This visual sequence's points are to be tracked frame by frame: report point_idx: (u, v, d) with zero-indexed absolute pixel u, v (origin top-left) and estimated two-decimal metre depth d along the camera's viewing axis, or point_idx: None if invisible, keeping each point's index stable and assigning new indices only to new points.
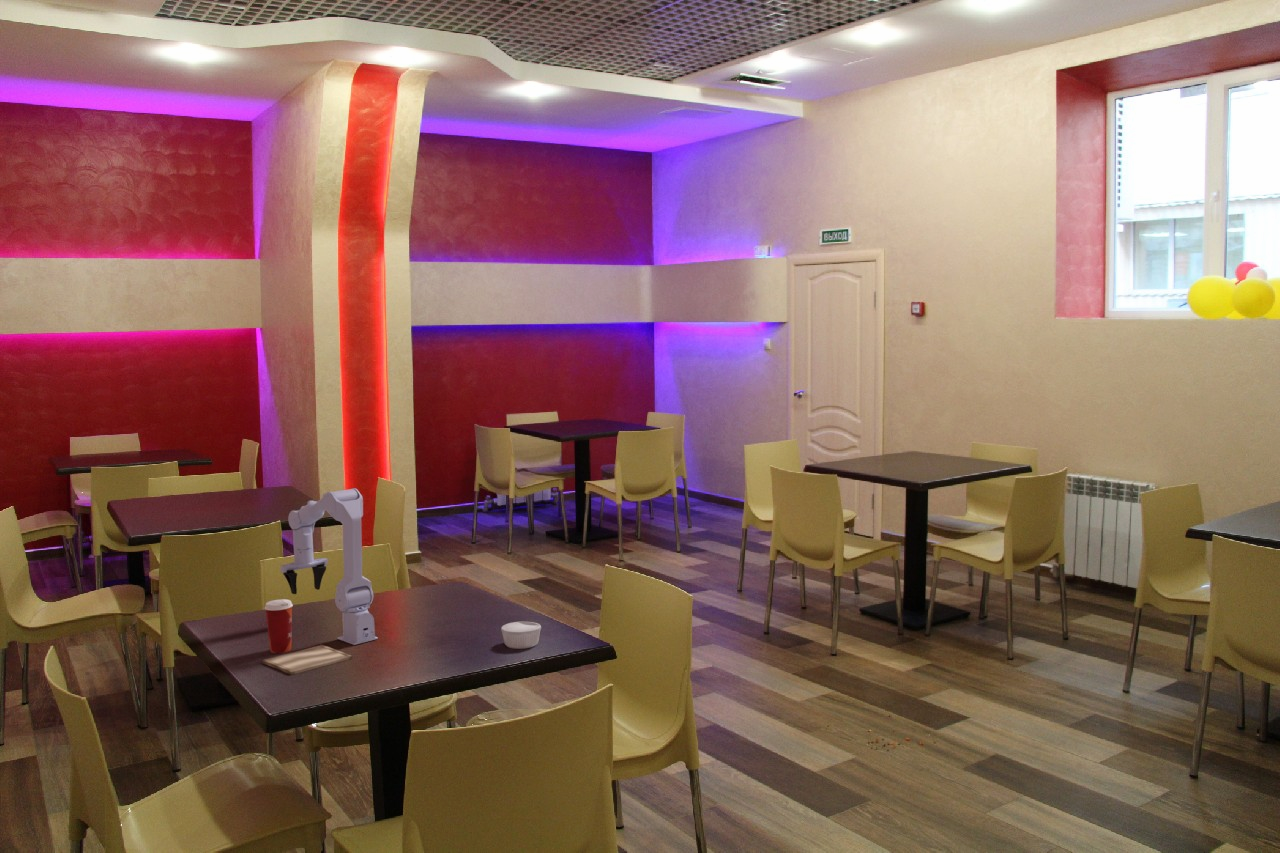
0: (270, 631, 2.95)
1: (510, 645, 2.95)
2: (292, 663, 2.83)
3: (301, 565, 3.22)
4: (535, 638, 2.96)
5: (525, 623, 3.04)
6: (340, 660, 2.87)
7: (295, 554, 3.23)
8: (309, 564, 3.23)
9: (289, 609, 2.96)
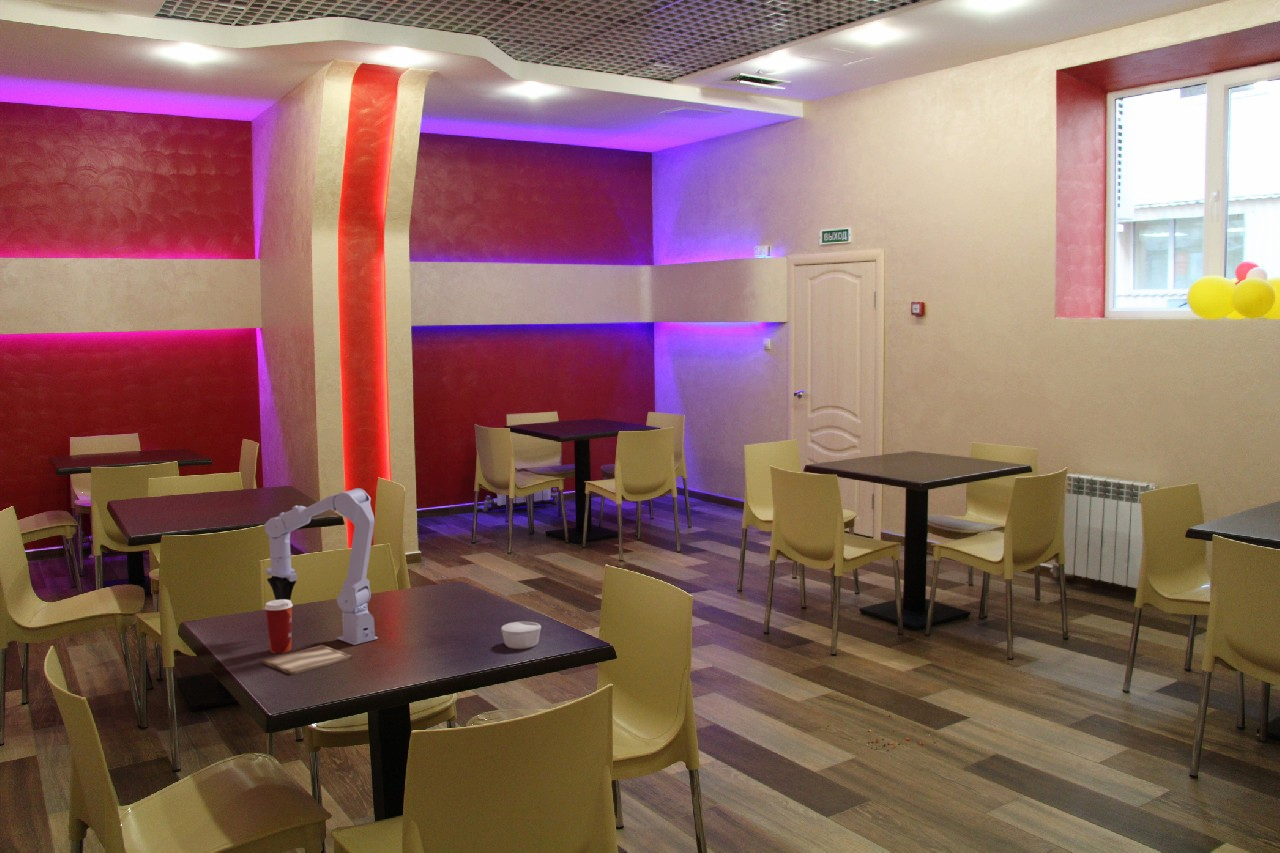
0: (270, 631, 2.95)
1: (510, 645, 2.95)
2: (292, 663, 2.83)
3: (270, 572, 3.11)
4: (535, 638, 2.96)
5: (525, 623, 3.04)
6: (340, 660, 2.87)
7: None
8: (272, 574, 3.09)
9: (289, 609, 2.96)
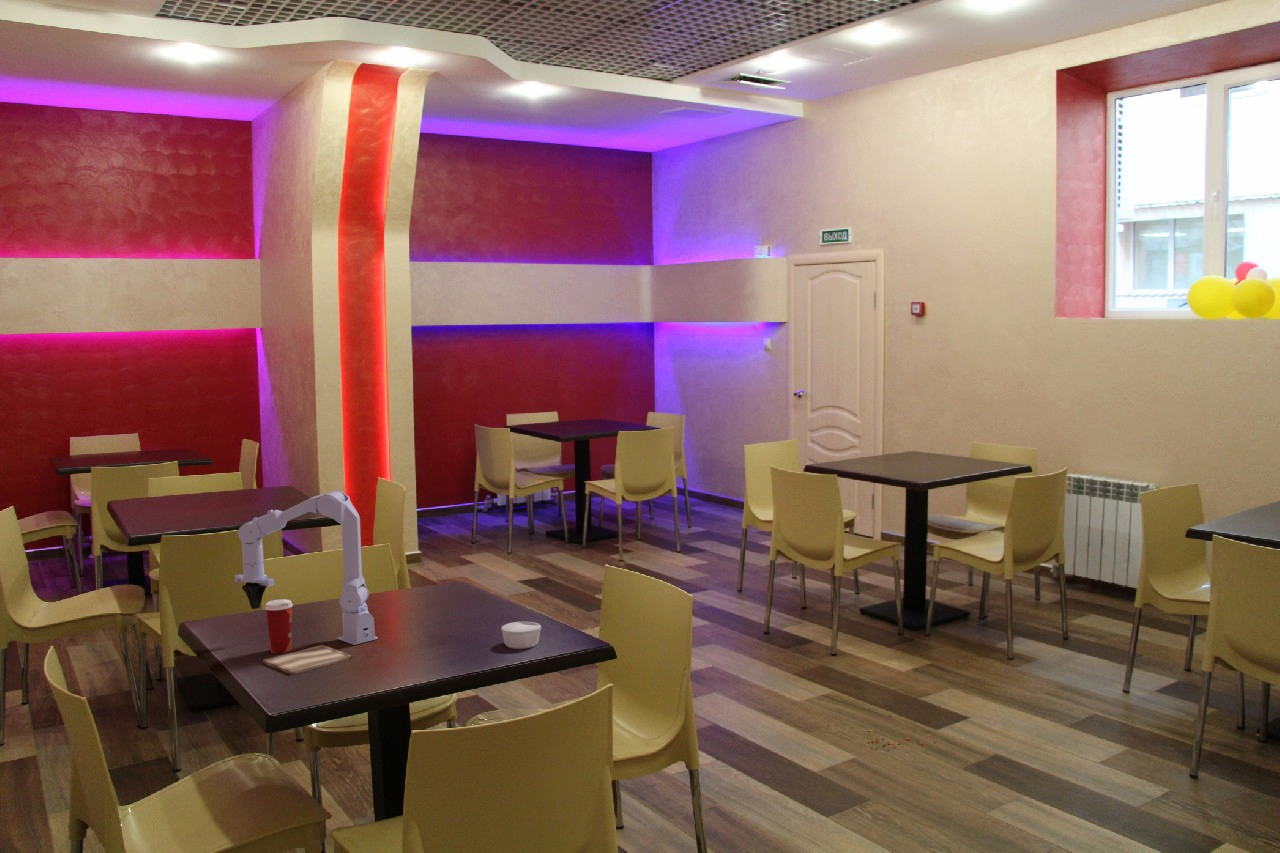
0: (270, 631, 2.95)
1: (510, 645, 2.95)
2: (292, 663, 2.83)
3: (242, 579, 3.05)
4: (535, 638, 2.96)
5: (525, 623, 3.04)
6: (340, 660, 2.87)
7: None
8: (246, 580, 3.04)
9: (289, 609, 2.96)
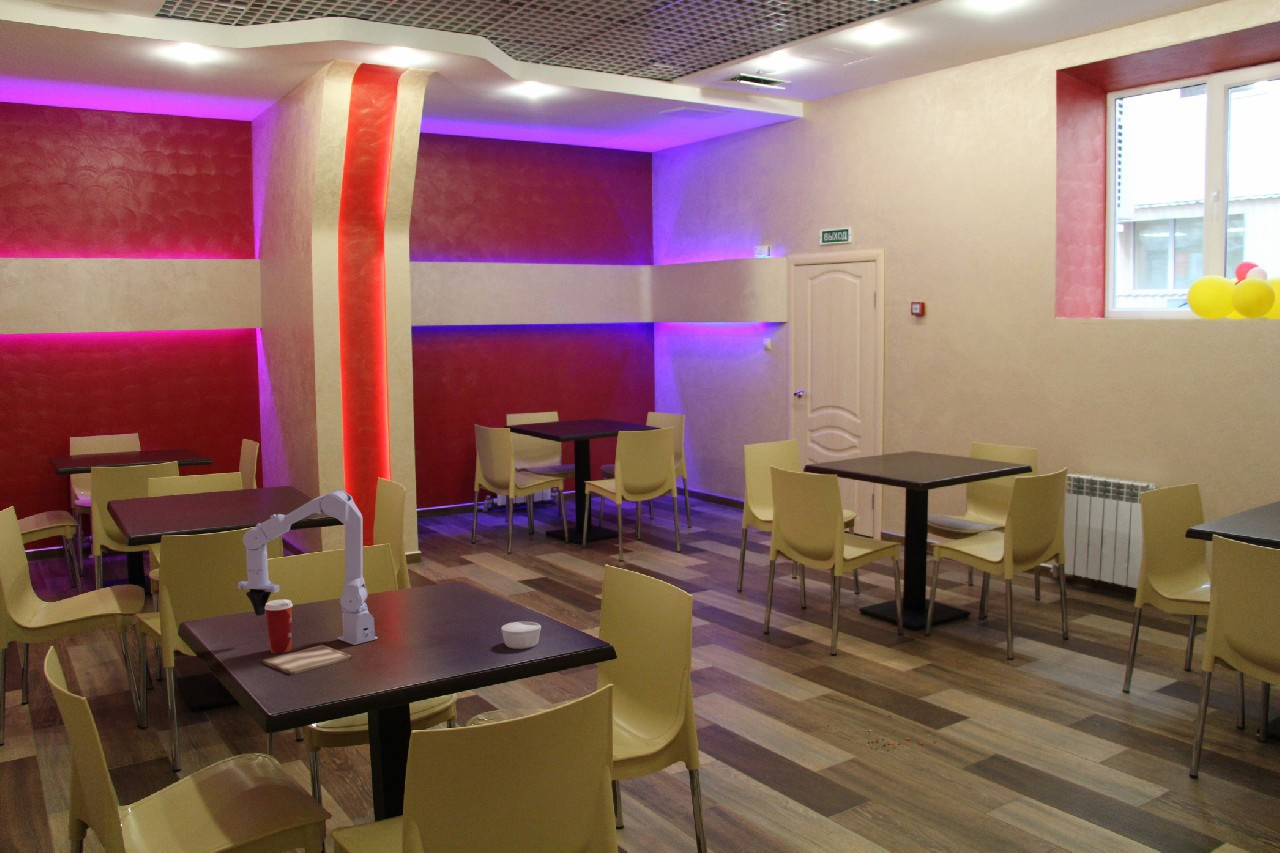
0: (270, 631, 2.95)
1: (510, 645, 2.95)
2: (292, 663, 2.83)
3: (246, 586, 3.04)
4: (535, 638, 2.96)
5: (525, 623, 3.04)
6: (340, 660, 2.87)
7: None
8: (251, 587, 3.02)
9: (289, 609, 2.96)
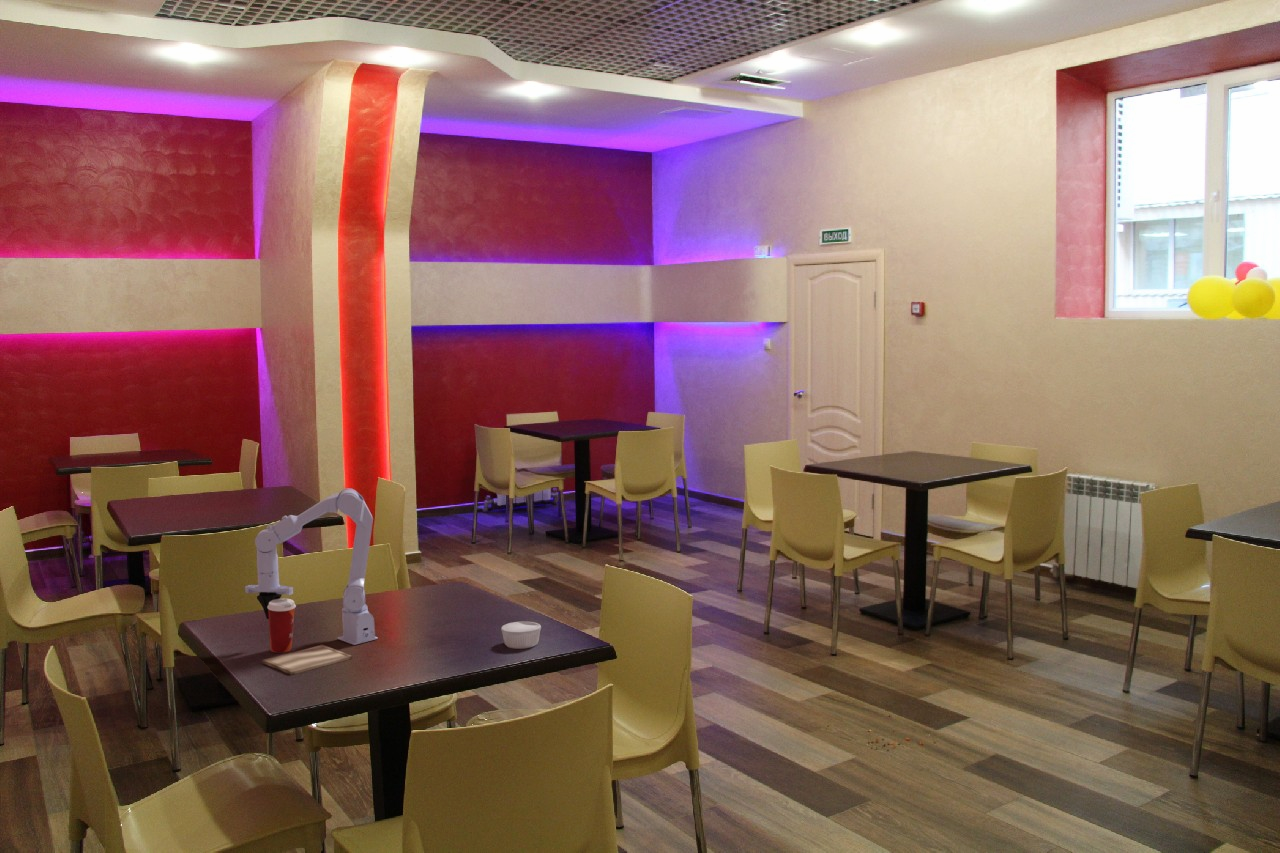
0: (271, 631, 2.95)
1: (510, 645, 2.95)
2: (292, 663, 2.83)
3: (257, 589, 2.99)
4: (535, 638, 2.96)
5: (525, 623, 3.04)
6: (340, 660, 2.87)
7: None
8: (263, 590, 2.98)
9: (292, 610, 2.96)
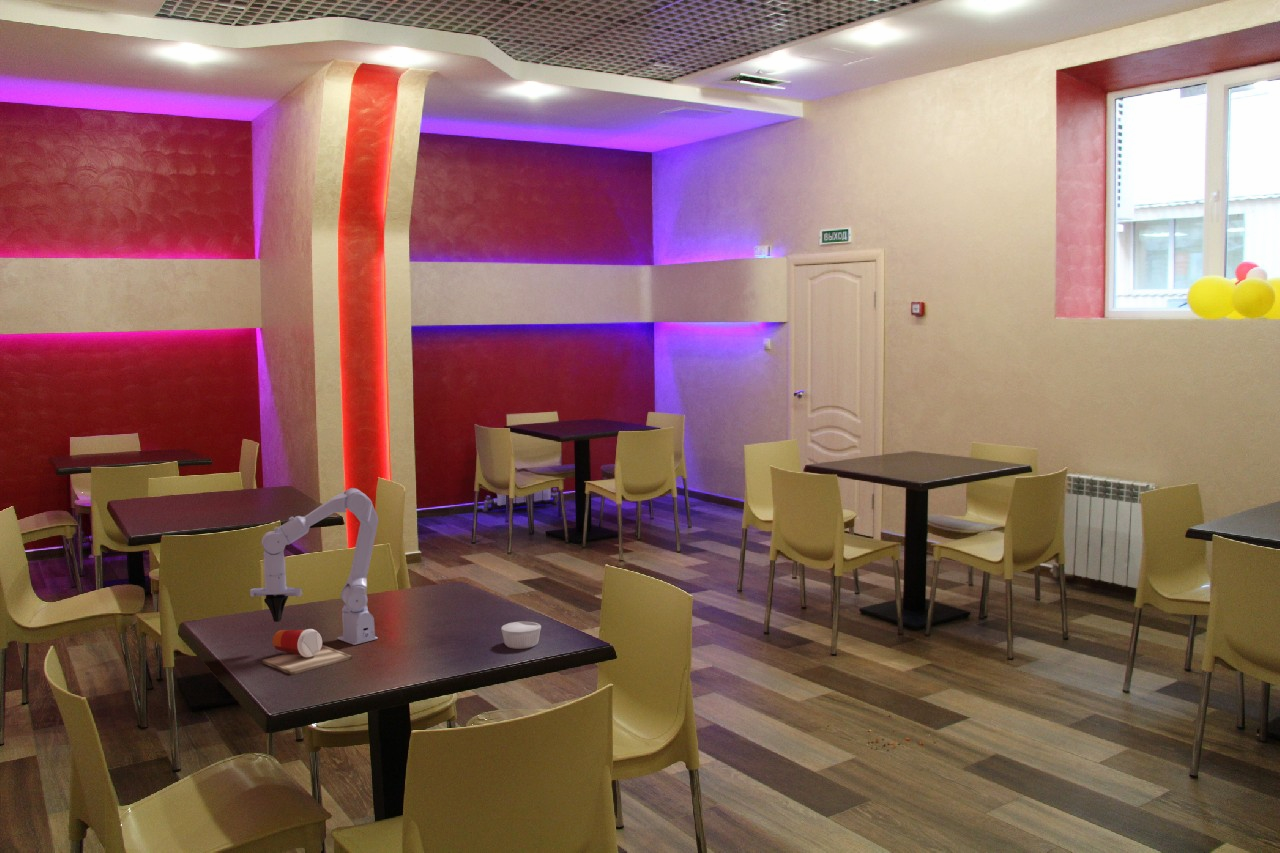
0: (286, 649, 2.89)
1: (510, 645, 2.95)
2: (292, 663, 2.83)
3: (265, 592, 2.95)
4: (535, 638, 2.96)
5: (525, 623, 3.04)
6: (340, 660, 2.87)
7: None
8: (272, 592, 2.95)
9: None
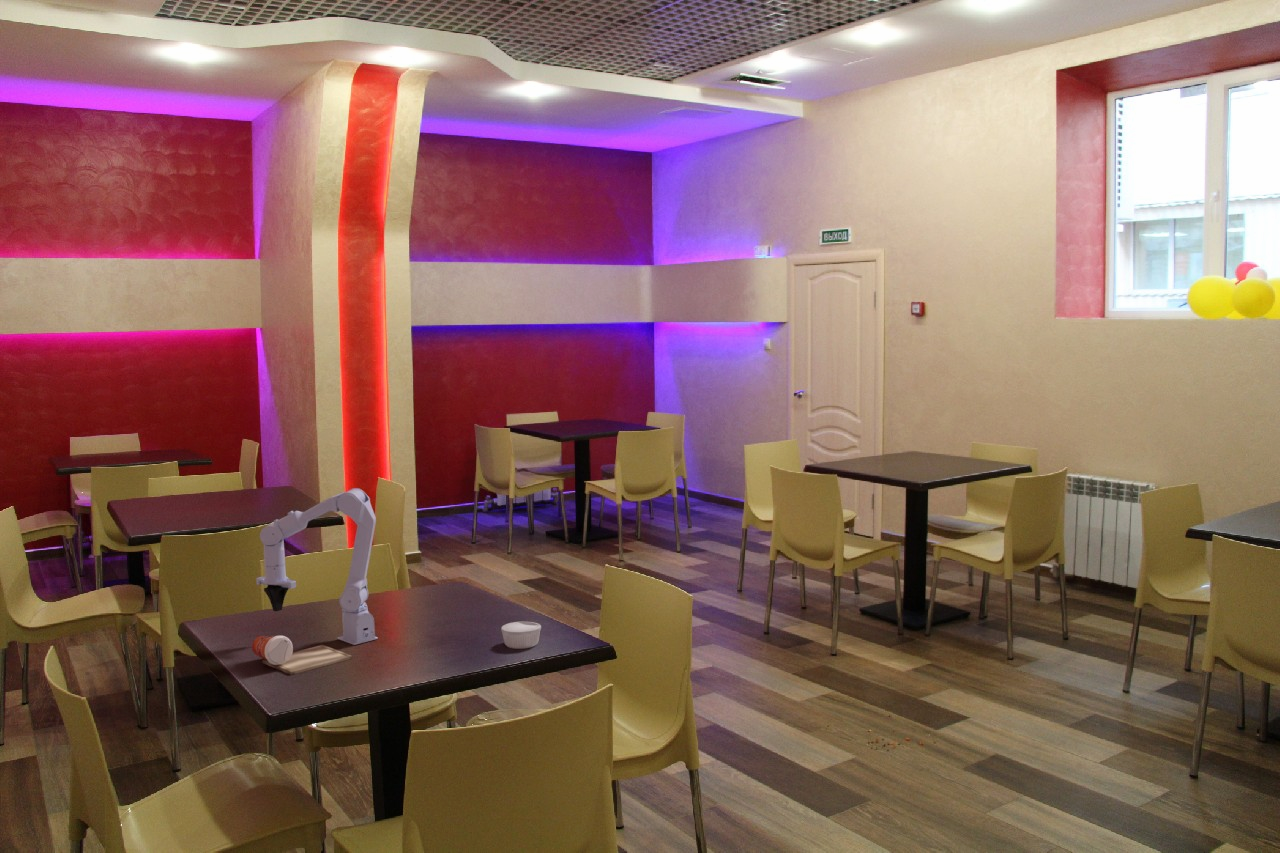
0: None
1: (510, 645, 2.95)
2: (292, 663, 2.83)
3: (264, 581, 3.05)
4: (535, 638, 2.96)
5: (525, 623, 3.04)
6: (340, 660, 2.87)
7: None
8: (268, 583, 3.04)
9: None
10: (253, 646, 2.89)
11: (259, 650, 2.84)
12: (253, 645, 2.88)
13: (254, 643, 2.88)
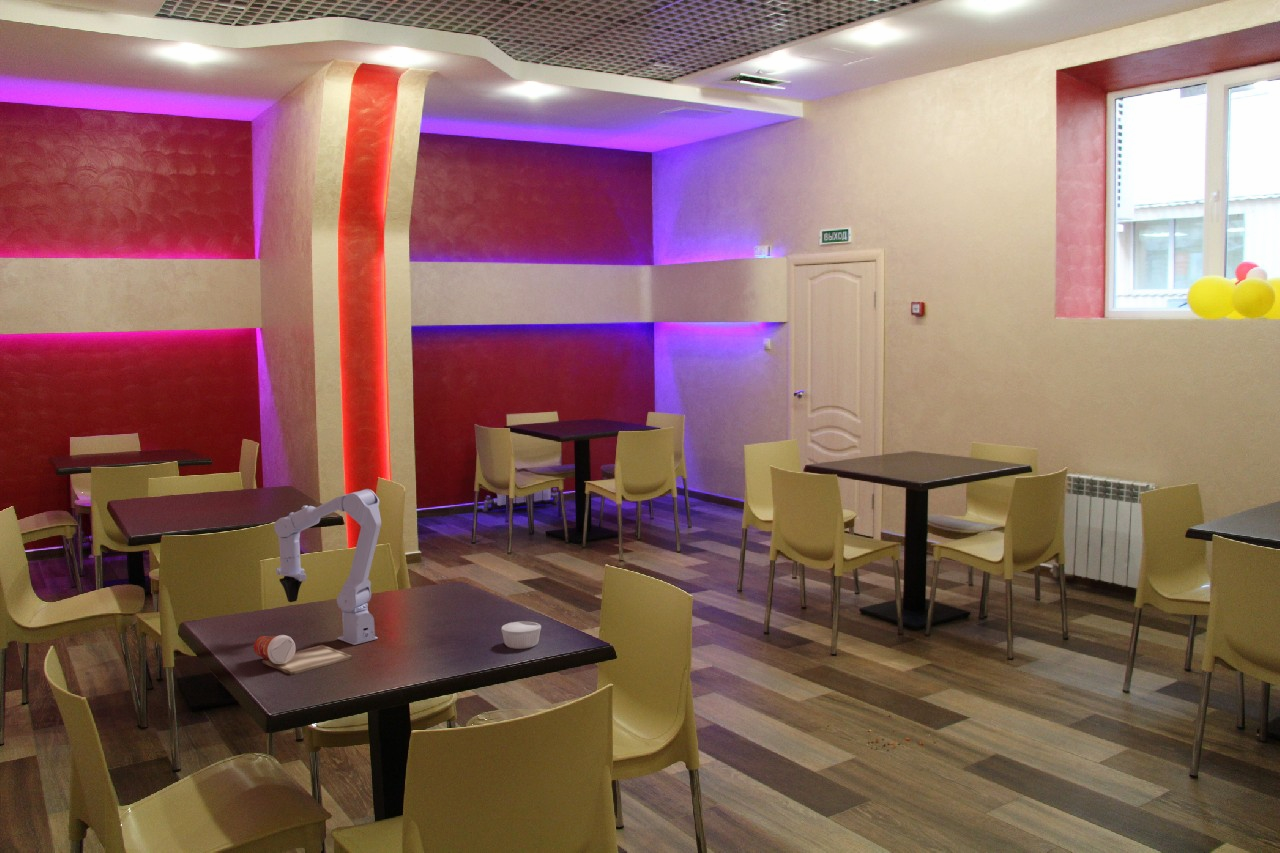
0: None
1: (510, 645, 2.95)
2: (292, 663, 2.83)
3: (279, 572, 3.11)
4: (535, 638, 2.96)
5: (525, 623, 3.04)
6: (340, 660, 2.87)
7: None
8: (281, 574, 3.09)
9: None
10: (255, 644, 2.89)
11: (261, 648, 2.84)
12: (255, 643, 2.89)
13: (257, 642, 2.89)
